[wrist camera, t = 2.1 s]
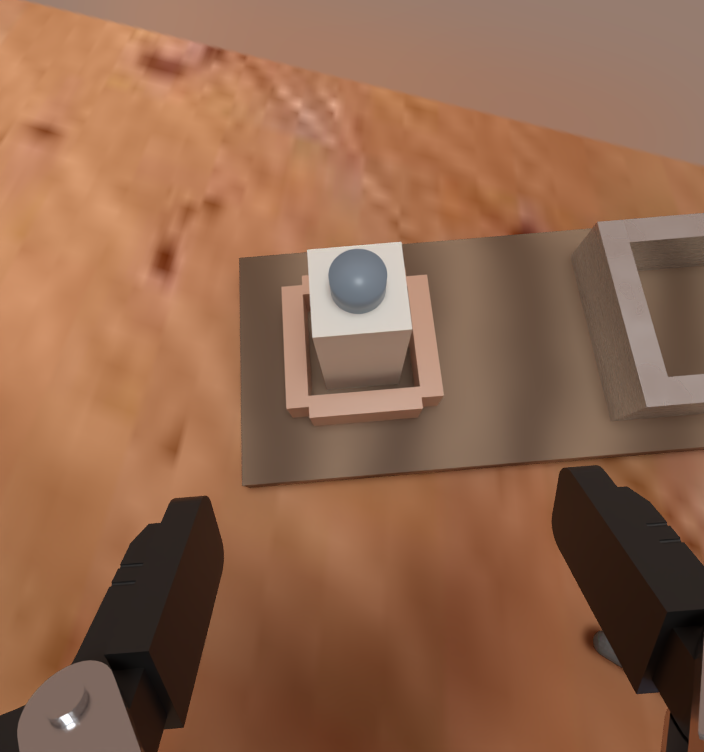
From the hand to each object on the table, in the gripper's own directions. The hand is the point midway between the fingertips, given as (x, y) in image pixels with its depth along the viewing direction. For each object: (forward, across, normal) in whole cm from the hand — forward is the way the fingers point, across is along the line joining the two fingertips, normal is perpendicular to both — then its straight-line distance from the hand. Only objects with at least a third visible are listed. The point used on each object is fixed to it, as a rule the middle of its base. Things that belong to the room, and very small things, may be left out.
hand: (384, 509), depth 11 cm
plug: (+13, 0, +2) cm, 13 cm away
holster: (+13, 0, +2) cm, 13 cm away
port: (+13, -16, +2) cm, 21 cm away
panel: (+14, -8, +3) cm, 17 cm away
